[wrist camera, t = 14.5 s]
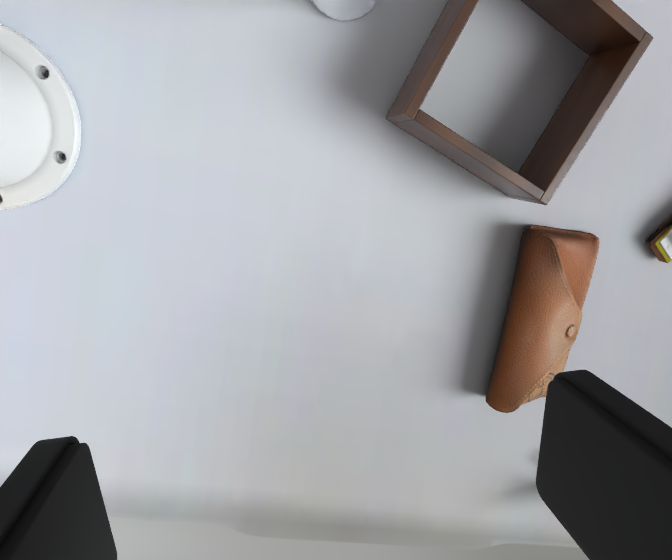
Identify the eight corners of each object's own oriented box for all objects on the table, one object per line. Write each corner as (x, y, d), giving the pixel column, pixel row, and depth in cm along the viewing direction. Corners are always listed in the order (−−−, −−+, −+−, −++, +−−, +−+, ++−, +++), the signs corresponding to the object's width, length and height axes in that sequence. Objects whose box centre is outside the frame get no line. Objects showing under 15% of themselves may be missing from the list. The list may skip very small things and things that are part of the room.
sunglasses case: (556, 399, 45) (563, 434, 39) (486, 381, 47) (483, 412, 41) (602, 230, 40) (619, 240, 34) (521, 220, 42) (524, 227, 36)
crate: (384, 118, 34) (404, 113, 29) (475, -52, 31) (512, -87, 27) (511, 198, 38) (546, 205, 33) (602, 52, 35) (654, 37, 31)
